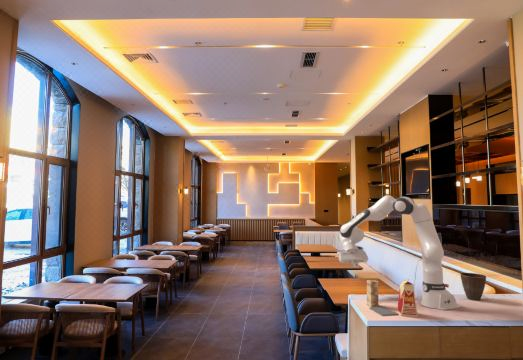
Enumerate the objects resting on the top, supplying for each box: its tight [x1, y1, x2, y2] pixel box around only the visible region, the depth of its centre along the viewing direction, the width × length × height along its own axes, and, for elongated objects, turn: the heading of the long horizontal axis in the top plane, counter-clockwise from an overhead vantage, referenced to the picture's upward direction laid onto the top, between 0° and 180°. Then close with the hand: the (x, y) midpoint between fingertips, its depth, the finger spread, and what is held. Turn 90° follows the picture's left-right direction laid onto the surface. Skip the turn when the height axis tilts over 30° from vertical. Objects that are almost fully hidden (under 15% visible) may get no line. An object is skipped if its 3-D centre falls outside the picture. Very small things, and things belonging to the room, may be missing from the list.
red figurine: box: [396, 278, 419, 318], centre depth 198 cm, size 9×9×20 cm
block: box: [366, 279, 380, 307], centre depth 213 cm, size 5×5×15 cm
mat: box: [369, 306, 399, 317], centre depth 201 cm, size 10×14×1 cm
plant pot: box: [459, 272, 487, 302], centre depth 231 cm, size 15×15×16 cm
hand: (356, 267), depth 233 cm, fingers closed
